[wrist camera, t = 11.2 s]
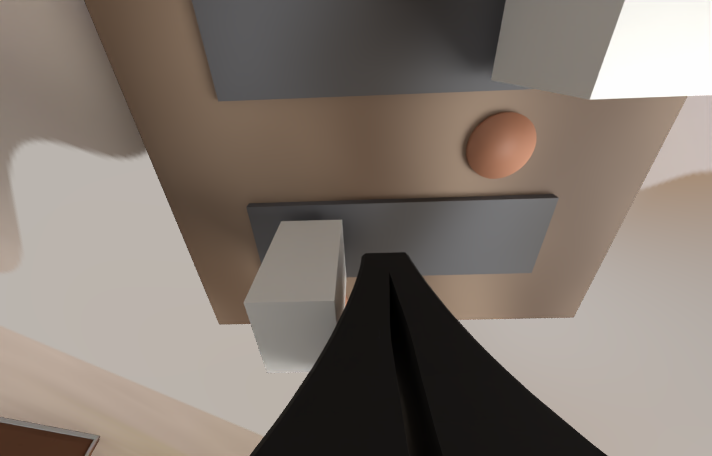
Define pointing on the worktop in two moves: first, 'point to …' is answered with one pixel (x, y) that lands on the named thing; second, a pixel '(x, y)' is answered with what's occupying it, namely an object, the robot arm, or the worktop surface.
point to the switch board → (377, 145)
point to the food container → (43, 440)
